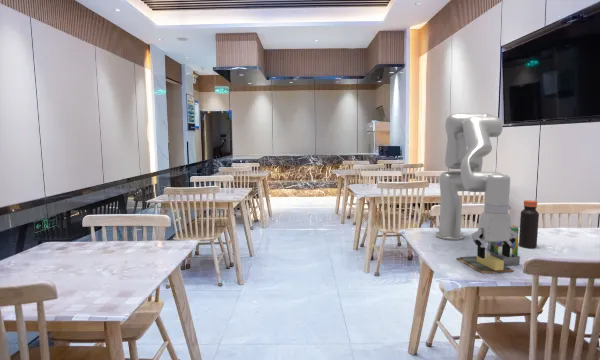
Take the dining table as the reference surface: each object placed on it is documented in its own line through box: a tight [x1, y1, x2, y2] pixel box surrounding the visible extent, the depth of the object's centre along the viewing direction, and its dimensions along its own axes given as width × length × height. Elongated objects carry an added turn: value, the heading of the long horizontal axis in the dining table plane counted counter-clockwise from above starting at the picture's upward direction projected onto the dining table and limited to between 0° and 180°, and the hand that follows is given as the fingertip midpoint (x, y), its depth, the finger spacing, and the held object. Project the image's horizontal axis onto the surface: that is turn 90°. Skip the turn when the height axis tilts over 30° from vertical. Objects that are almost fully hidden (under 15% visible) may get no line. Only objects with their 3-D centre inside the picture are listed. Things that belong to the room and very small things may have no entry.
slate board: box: [456, 255, 515, 275], centre depth 139 cm, size 16×12×1 cm
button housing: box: [489, 251, 521, 267], centre depth 142 cm, size 7×7×3 cm
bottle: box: [518, 199, 540, 249], centre depth 163 cm, size 7×7×20 cm
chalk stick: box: [476, 252, 504, 271], centre depth 135 cm, size 3×3×10 cm
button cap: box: [498, 246, 512, 257], centre depth 142 cm, size 5×5×4 cm
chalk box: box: [487, 223, 520, 256], centre depth 155 cm, size 9×9×15 cm
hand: (493, 256), depth 134 cm, fingers open, 9 cm apart
